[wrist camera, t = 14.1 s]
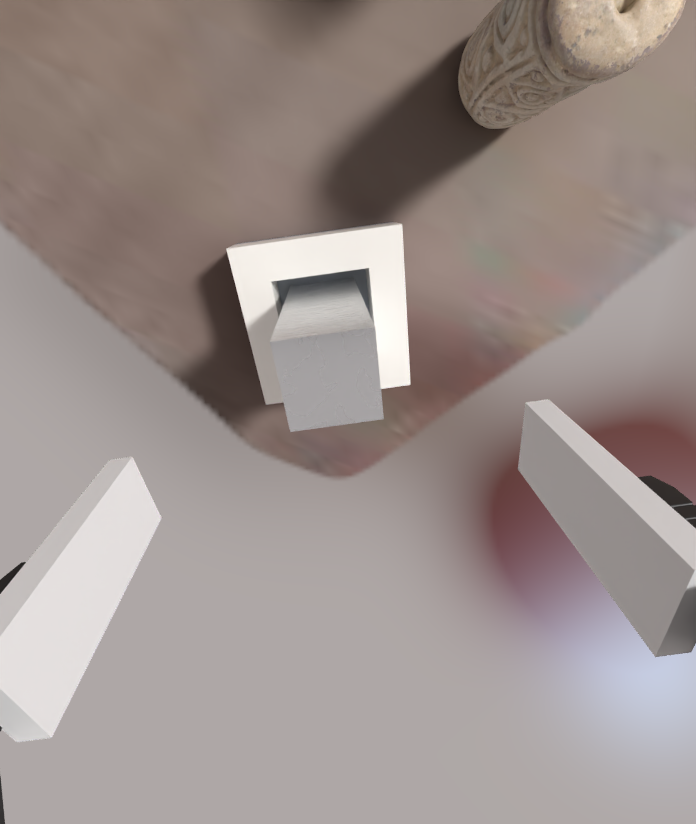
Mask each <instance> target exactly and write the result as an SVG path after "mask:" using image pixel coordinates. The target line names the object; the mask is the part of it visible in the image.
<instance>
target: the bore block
mask: <svg viewBox="0 0 696 824" xmlns="http://www.w3.org/2000/svg"><path fill="white" fill-rule="evenodd" d="M226 250H227V254H228V257H229V261H230V265H231V269H232V273H233V277H234V281H235V285H236V289H237V293H238V297H239V301H240V305H241V309H242V313H243V317H244V320H245V324H246V328H247V332H248V336H249V340H250V344H251V348H252V352H253V356H254V360H255V364H256V368H257V372H258V376H259V380H260V383H261V387H262V391H263V395H264V399H265V403H266V405H268V404H275V403H283V397H282V393H281V389H280V384H279V380H278V375H277V371H276V367H275V362H274V358H273V354H272V349H271V345H270V340H271V337H272V335H273V332H274V329H275V327H276V324H277V321H278V318H279V316H280V313H281V310H282V308H283V305H284V302H285V300H286V297H287V294H288V292H289V289H290V286H295V285H302V284H309V283H316V282H323V281H330V280H337V279H345V278H352V277H354V280H355V282H356V284H357V286H358V289H359V291H360V293H361V296H362V298H363V300H364V303H365V305H366V307H367V310H368V312H369V314H370V316H371V319H372V321H373V323H374V326H375V331H376V342H377V353H378V364H379V374H380V385H381V389H384V388H391V387H398V386H405V385H410V367H409V347H408V328H407V309H406V290H405V270H404V251H403V232H402V224H400V223H396V222H386V223H379V224H372V225H365V226H358V227H350V228H343V229H336V230H329V231H322V232H315V233H308V234H301V235H294V236H287V237H280V238H272V239H265V240H258V241H251V242H244V243H237V244H235V245H233V246H231V247H229V248H227V249H226Z"/></svg>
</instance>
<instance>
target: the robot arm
mask: <svg viewBox="0 0 696 824" xmlns="http://www.w3.org/2000/svg"><path fill="white" fill-rule="evenodd" d="M518 470H519V471H520V472H521V474H522V475H523V476H524V478H525V479H526V481H527V482H528V483H529V485H530V486H531V488H532V489H533V490H534V492H535V493H536V494H537V496H538V497H539V498H540V500H541V501H542V503H543V504H544V505H545V507H546V508H547V509H548V511H549V512H550V514H551V515H552V516H553V518H554V519H555V520H556V522H557V523H558V524H559V526H560V527H561V528H562V530H563V531H564V533H565V534H566V535H567V537H568V538H569V539H570V540H571V542H572V544H573V545H574V546H575V548H576V549H577V550H578V552H579V553H580V555H581V556H582V557H583V559H584V560H585V561H586V563H587V564H588V565H589V567H590V568H591V569H592V571H593V572H594V574H595V575H596V576H597V578H598V579H599V580H600V582H601V583H602V585H603V586H604V587H605V589H606V590H607V591H608V593H609V594H610V596H611V597H612V598H613V600H614V601H615V602H616V604H617V605H618V607H619V608H620V609H621V611H622V612H623V613H624V615H625V616H626V617H627V618H628V620H629V621H630V623H631V624H632V626H633V627H634V628H635V630H636V631H637V632H638V634H639V635H640V636H641V638H642V639H643V641H644V642H645V643H646V645H647V646H648V647H649V649H650V650H651V652H652V653H653V654H654V656H655V657H659V656H667V655H674V654H681V653H689V652H691V651H692V649H693V647H694V646H695V643H696V505H693V504H692V502H691V501H690V500H689V499H688V498H687V497H685V496H684V495H683V494H682V493H680V492H679V491H678V490H677V489H676V488H674V487H672V486H670V485H668V484H666V483H664V482H662V481H660V480H658V479H656V478H654V477H652V476H644V477H636V476H635V475H634V474H633V473H632V472H631V471H629V470H628V469H627V468H626V467H625V466H624V465H623V464H621V463H620V462H619V461H618V460H617V459H616V458H615V457H613V456H612V455H611V454H610V453H609V452H608V451H607V450H606V449H604V448H603V447H602V446H601V445H600V444H599V443H598V442H596V441H595V440H594V439H593V438H592V437H591V436H590V435H588V434H587V433H586V432H585V431H584V430H583V429H582V428H580V427H579V426H578V425H577V424H576V423H575V422H574V421H572V420H571V419H570V418H569V417H568V416H567V415H566V414H565V413H563V412H562V411H561V410H560V409H559V408H557V407H556V406H555V405H554V404H553V403H552V402H551V401H550V400H549V399H548V400H540V401H534V402H526V403H525V411H524V420H523V430H522V439H521V449H520V457H519V466H518ZM160 520H161V516H160V514H159V512H158V509H157V507H156V505H155V503H154V501H153V499H152V497H151V495H150V493H149V491H148V489H147V486H146V485H145V483H144V480H143V478H142V476H141V474H140V472H139V470H138V468H137V466H136V464H135V461H134V459H133V457H127V458H120V459H113V460H109V461H108V462H107V464H106V465H105V466H104V467H103V469H102V470H101V471H100V472H99V473H98V475H97V476H96V477H95V478H94V480H93V481H92V482H91V483H90V485H89V486H88V487H87V488H86V489H85V491H84V492H83V493H82V495H81V496H80V497H79V498H78V499H77V501H76V502H75V503H74V504H73V505H72V507H71V508H70V509H69V510H68V512H67V513H66V514H65V515H64V516H63V518H62V519H61V520H60V522H59V523H58V524H57V525H56V526H55V528H54V529H53V530H52V531H51V533H50V534H49V535H48V536H47V538H46V539H45V540H44V541H43V542H42V544H41V545H40V546H39V547H38V548H37V550H36V551H35V552H34V553H33V555H32V556H31V557H30V558H29V560H28V561H27V562H23V563H20V564H19V565H18V566H17V567H15V568H14V569H13V570H12V571H11V572H9V573H8V574H7V575H6V576H4V577H3V578H2V579H1V580H0V731H1V729H2V730H3V731H4V732H5V733H7V734H8V735H9V736H10V737H11V738H12V739H13V740H15V741H16V742H23V741H30V740H37V739H45V738H52V736H53V734H54V732H55V730H56V728H57V726H58V724H59V722H60V720H61V718H62V716H63V714H64V712H65V710H66V708H67V706H68V704H69V702H70V700H71V698H72V696H73V694H74V692H75V690H76V688H77V685H78V684H79V682H80V680H81V678H82V676H83V674H84V672H85V670H86V668H87V666H88V664H89V662H90V660H91V658H92V656H93V654H94V652H95V650H96V648H97V646H98V644H99V642H100V640H101V638H102V636H103V634H104V632H105V630H106V628H107V626H108V624H109V622H110V620H111V618H112V616H113V614H114V612H115V610H116V608H117V606H118V604H119V602H120V600H121V598H122V596H123V594H124V592H125V590H126V588H127V586H128V584H129V582H130V580H131V578H132V576H133V574H134V572H135V570H136V568H137V566H138V564H139V562H140V560H141V558H142V556H143V554H144V552H145V550H146V548H147V546H148V544H149V542H150V540H151V538H152V536H153V534H154V532H155V530H156V528H157V526H158V524H159V522H160ZM0 824H5V820H4V809H3V800H2V789H1V778H0Z"/></svg>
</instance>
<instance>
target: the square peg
mask: <svg viewBox="0 0 696 824" xmlns="http://www.w3.org/2000/svg"><path fill="white" fill-rule="evenodd" d="M270 345H271V349H272V354H273V358H274V362H275V367H276V371H277V375H278V380H279V384H280V389H281V393H282V397H283V402H284V406H285V410H286V415H287V419H288V424H289V428H290V432H293V431H300V430H308V429H315V428H322V427H329V426H336V425H344V424H351V423H358V422H365V421H373V420H380V419H384V418H383V407H382V396H381V385H380V374H379V364H378V353H377V342H376V331H375V326H374V323H373V321H372V319H371V316H370V314H369V312H368V310H367V307H366V305H365V303H364V300H363V298H362V296H361V293H360V291H359V289H358V286H357V284H356V282H355V280H354V277H352V278H345V279H337V280H330V281H323V282H316V283H309V284H302V285H295V286H290V289H289V292H288V294H287V297H286V300H285V302H284V305H283V308H282V310H281V313H280V316H279V318H278V321H277V324H276V327H275V329H274V332H273V335H272V337H271V340H270Z"/></svg>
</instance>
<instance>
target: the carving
mask: <svg viewBox="0 0 696 824" xmlns="http://www.w3.org/2000/svg"><path fill="white" fill-rule="evenodd" d="M685 2H686V0H502V1H501V2H499V3H498V4H497V5H496V6H495V8H494V9H493V10H491V12H490V13H489V14H488V15H487V16H486V17H485V18H484V19H483V21H482V22H481V23H480V24H479V26H478V27H477V29H476V30H475V32H474V33H473V35H472V36H471V38H470V39H469V41H468V43H467V45H466V47H465V49H464V52H463V55H462V58H461V63H460V68H459V76H458V85H459V93H460V97H461V99H462V103H463V105H464V107H465V109H466V110H467V111H468V113H469V114H470V116H471V117H472V118H473V120H474V121H475V122H477V123H478V124H480V125H481V126H483V127H486V128H489V129H501V128H507V127H511V126H515V125H517V124H519V123H522V122H525V121H527V120H529V119H531V118H532V116H536V115H539V114H541V113H542V112H544V111H545V110H547V109H548V108H549V107H551V106H553V105H555V104H556V103H558V102H559V101H562V100H564V99H566V98H568V97H571V96H573V95H575V94H577V93H579V92H580V91H582V90H584V89H585V88H587V87H588V86H590V85H592V84H597V83H601V82H604V81H607V80H609V79H611V78H614V77H616V76H618V75H620V74H621V73H623V72H626V71H628V70H629V69H631V68H633V67H634V66H636V65H637V64H638V63H640V62H641V61H642V60H644V59H645V58H646V57H647V56H649V55H650V54H651V53H652V52H653V51H654V50H655V49H656V48H657V47H658V46H659V45H660V44H661V43H662V42H663V41H664V40H665V38H666V37H667V36H668V34H669V33H670V31H671V30H672V29H673V27H674V26H675V25H676V23H677V21H678V20H679V18H680V16H681V14H682V12H683V9H684V6H685Z"/></svg>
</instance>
